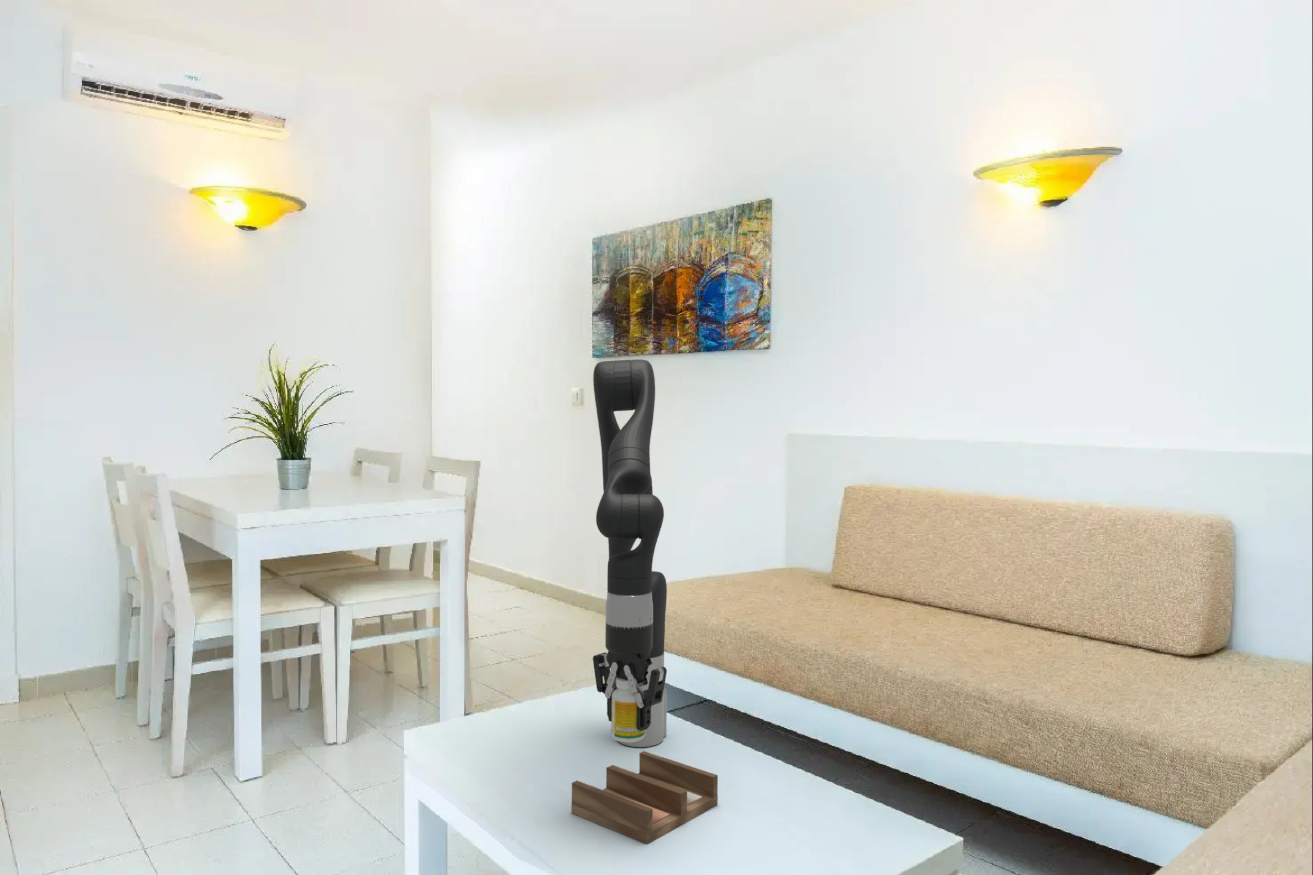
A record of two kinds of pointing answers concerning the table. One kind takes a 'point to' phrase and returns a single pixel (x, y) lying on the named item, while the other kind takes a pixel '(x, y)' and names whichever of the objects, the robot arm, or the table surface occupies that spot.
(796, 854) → the table surface
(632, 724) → the supplement bottle
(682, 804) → the brown shelf rack
